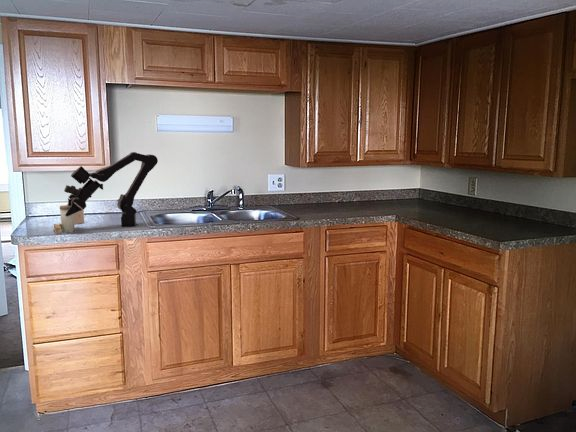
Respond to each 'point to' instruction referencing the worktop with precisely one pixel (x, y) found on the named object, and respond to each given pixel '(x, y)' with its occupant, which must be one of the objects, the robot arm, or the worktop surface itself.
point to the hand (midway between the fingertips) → (64, 214)
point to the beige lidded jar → (79, 217)
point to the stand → (58, 228)
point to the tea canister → (66, 219)
